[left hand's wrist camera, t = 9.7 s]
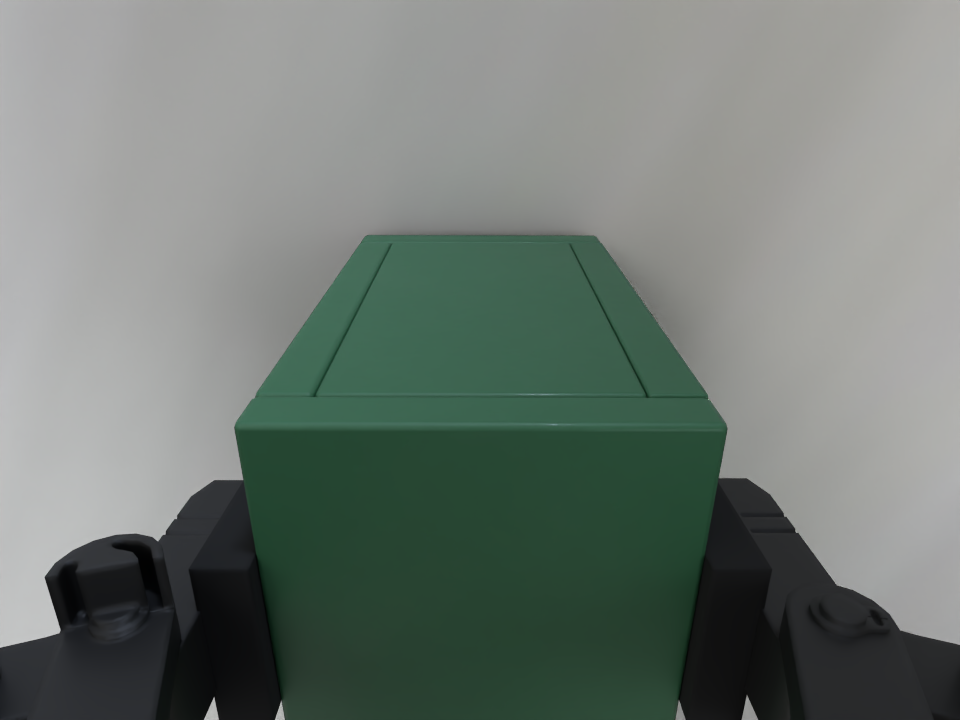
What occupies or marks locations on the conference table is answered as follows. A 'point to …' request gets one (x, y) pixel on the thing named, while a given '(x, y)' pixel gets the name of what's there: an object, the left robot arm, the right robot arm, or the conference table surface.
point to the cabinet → (480, 489)
